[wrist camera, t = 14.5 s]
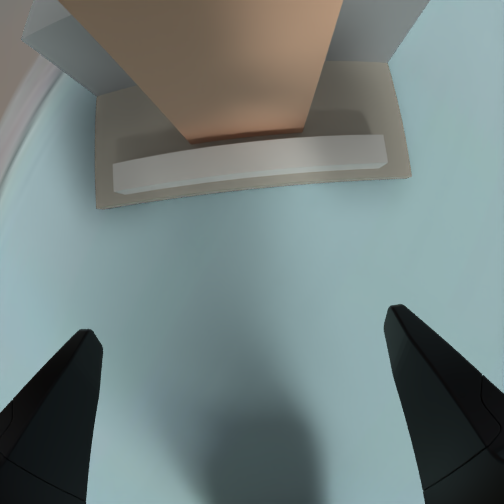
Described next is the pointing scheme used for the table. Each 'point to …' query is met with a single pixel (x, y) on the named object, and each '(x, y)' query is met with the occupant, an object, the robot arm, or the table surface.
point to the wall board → (249, 148)
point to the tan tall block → (218, 59)
